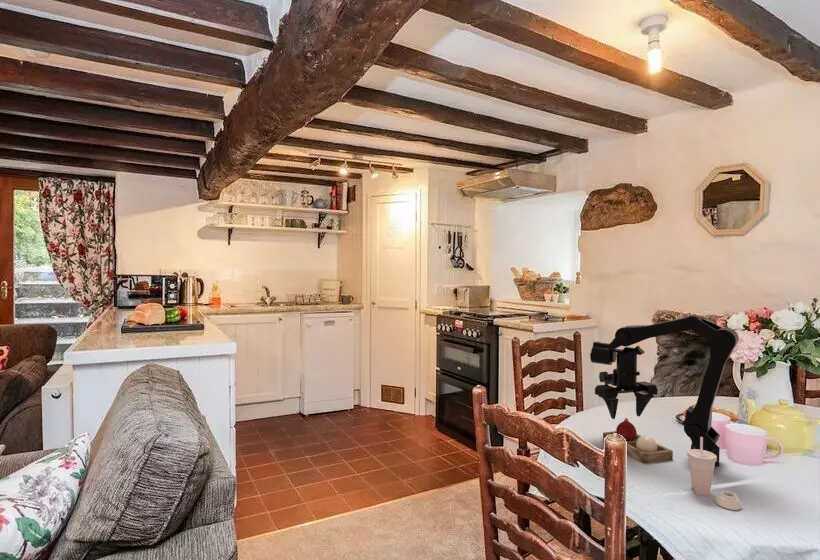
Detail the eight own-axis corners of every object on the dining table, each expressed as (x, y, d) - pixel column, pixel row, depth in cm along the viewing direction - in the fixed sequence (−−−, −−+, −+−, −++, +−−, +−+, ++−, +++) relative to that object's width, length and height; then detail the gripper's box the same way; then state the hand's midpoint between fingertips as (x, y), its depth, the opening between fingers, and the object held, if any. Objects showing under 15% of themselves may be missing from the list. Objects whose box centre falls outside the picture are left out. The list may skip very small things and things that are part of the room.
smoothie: (683, 492, 120) (684, 436, 119) (689, 483, 125) (690, 430, 124) (713, 501, 115) (714, 443, 115) (718, 491, 120) (720, 436, 120)
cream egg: (661, 457, 139) (662, 438, 138) (645, 459, 137) (645, 440, 137) (647, 450, 144) (647, 431, 144) (631, 452, 142) (631, 433, 142)
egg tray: (672, 463, 137) (672, 450, 137) (644, 466, 135) (644, 454, 135) (628, 440, 155) (628, 429, 154) (602, 443, 152) (603, 432, 152)
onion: (639, 447, 146) (640, 421, 145) (620, 447, 146) (620, 421, 146) (631, 441, 152) (632, 415, 151) (613, 440, 152) (613, 415, 151)
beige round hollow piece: (710, 501, 116) (726, 512, 111) (711, 489, 116) (726, 499, 111) (730, 500, 116) (746, 511, 111) (730, 488, 116) (747, 498, 111)
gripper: (633, 360, 158) (632, 407, 159) (584, 363, 153) (583, 412, 154) (659, 367, 147) (658, 417, 148) (607, 371, 142) (606, 423, 143)
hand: (625, 417), depth 148 cm, fingers open, 9 cm apart
